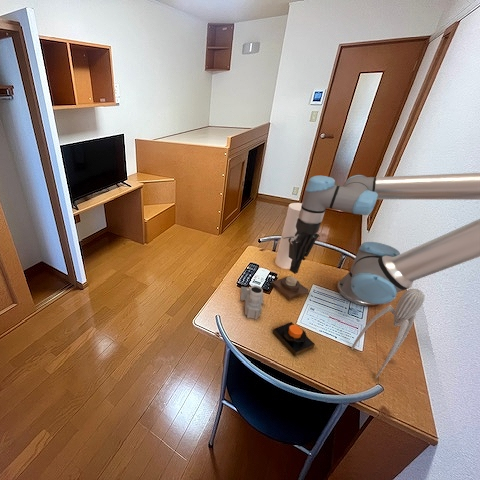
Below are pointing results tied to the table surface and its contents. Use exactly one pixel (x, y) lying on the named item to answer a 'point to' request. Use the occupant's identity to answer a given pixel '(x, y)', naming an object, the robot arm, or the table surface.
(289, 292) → the brown button base
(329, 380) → the table surface
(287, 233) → the container
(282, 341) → the dark button base
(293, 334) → the orange button
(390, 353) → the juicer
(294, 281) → the cream button
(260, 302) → the grey pipe fitting
